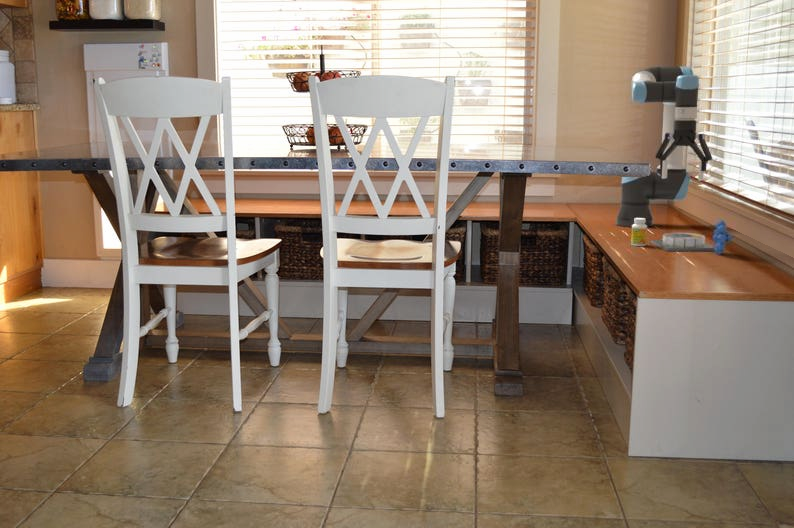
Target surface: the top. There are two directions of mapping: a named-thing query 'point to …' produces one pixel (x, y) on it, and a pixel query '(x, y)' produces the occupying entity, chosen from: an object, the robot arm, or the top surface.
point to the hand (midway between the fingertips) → (682, 179)
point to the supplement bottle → (639, 232)
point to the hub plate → (683, 242)
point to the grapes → (721, 237)
